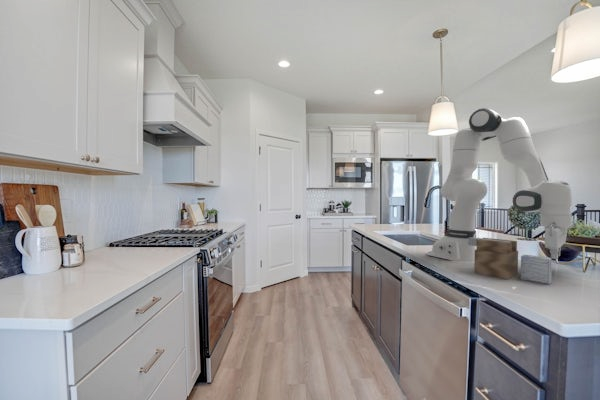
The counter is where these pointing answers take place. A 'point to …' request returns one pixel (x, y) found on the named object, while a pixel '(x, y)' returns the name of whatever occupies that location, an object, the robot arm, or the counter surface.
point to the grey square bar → (473, 240)
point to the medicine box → (536, 268)
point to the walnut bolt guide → (496, 258)
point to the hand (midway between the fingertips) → (555, 257)
